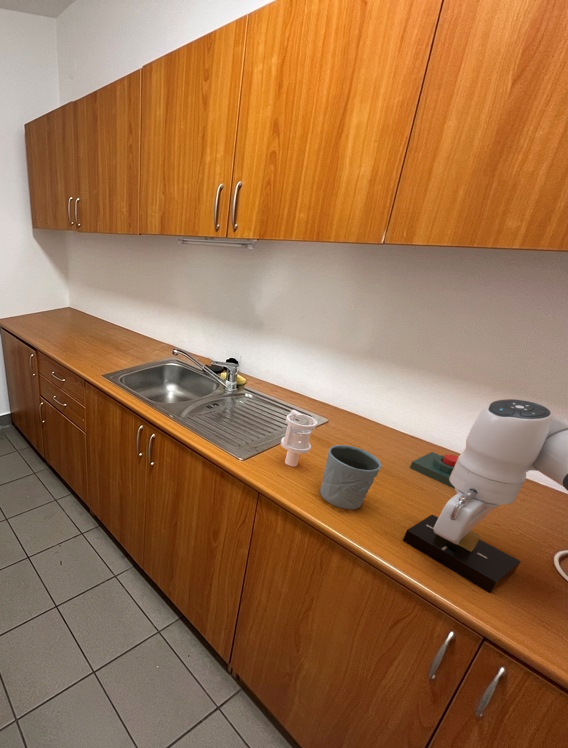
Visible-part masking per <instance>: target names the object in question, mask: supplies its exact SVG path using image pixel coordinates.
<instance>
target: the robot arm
mask: <svg viewBox="0 0 568 748" xmlns="http://www.w3.org/2000/svg"><path fill="white" fill-rule="evenodd" d="M530 471H535V472H539V473H541V474H542V475H544V476H546V477H547V478H549V479H550V480H552V481H553V482H555V483H556V484H558V485H560V486H561V487H563V488H564V489H565V490H566V491H568V419H565V418H562V417H560V416H557V415H555V414H554V413H552V411H551V410H550V409H549V408H547V407H546V406H544V405H542V404H539V403H537V402H533V401H529V400H523V399H514V398H513V399H512V398H510V399H507V398H505V399H500V400H494V401H492V402H490V403H489V404H488V405H486V406H485V407H484V408H483V409H482V410H481V411H480V412H479V414H478V415H477V417H476V419H475V420H474V422H473V424H472V426H471V428H470V430H469V432H468V435H467V436H466V439H465V449H464V450H463V452H462V453H460V454H459V456H458V459H457V462H456V464H455V466H454V469H453V471H452V473H451V475H450V478H449V480H450V482H451V484H452V485H453V486H454V487H455V489H454V491H455V493H456V494H455V495H453V496H452V497H451V498H450V499H449V500H448V501H447V502H446V504H445V505H444V506H443V508H442V510H441V512H440V514H439V516H438V520H437V522H436V524H435V526H434V533H436V534H437V535H439V536H441V537H443V538H445V539H447V540H448V541H450V542H452V543H454V544H459V543H460V542H461V541H462V538H463V537H464V536H465V535H466V534H467V533H469V532H470V531H473V529H474V528H476V527H477V526H478V525H479V524H480V523H481V522H482V521H484V519H486V518H487V517H488V516H489V515H490V514H491V513H493V511H495V510H496V509H497V508H498V507H501V505H502V506H503V505H505V506H506V505H511V504H513V503H514V502H515V500H516V498H517V496H518V494H519V493H520V491H521V489H522V488H523V485H524V483H525V481H526V480H527V473H528V472H530Z"/></svg>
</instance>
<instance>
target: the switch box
mask: <svg viewBox="0 0 568 748" xmlns="http://www.w3.org/2000/svg"><path fill="white" fill-rule="evenodd" d="M444 456H445V455H442V454H438V453H437V452H433V451H430V452H429V453H427V454H425V455H423V456H420V457H418V458H416V459H415V460H412V461H411V464H410V466H409V469H410V470H412V471H415V472H417V473H420V474H421V475H423V476H426V477H428V478H430V479H431V480H434V481H437V482H439V483H441V484H443V485H445V486H447V487H450V488H451V489H454V490H455V487H454V486H453V485H452V484H451V482H450V480H449V478H450V475H451V473H452V471H453V469H454V467H452V466H449V465H447V464H445V463H443V462H442V461H443V458H444Z"/></svg>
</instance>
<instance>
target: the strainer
mask: <svg viewBox="0 0 568 748" xmlns="http://www.w3.org/2000/svg"><path fill="white" fill-rule="evenodd" d="M296 419H303V420H306V421H308V423H307V424H300V423H299V422H297V421H296ZM285 422H286V424H287V427H286V430H285V435H284V436H283V437H282V438H281V440H280V446H281V447H282V448H283V449H285V450H286V451H287V452H286V456H285V460H284V464H285V465H287V466H289V467H293V468H294V467H297V466H298V463H299V459H300V456H301V455H303V454H304V455H305V454H308V453H310V452H311V448H312V445H311V443H310V440H311V439H310V438H311V435H312V432H313V430H315V429H316V428H317V425H318V421H317V419H316V418H314V417H313V416H310V415H307V414H304V413H301V412H300V411H298V410H296V409H291V410H290V413H289V414H287V415H286V417H285Z"/></svg>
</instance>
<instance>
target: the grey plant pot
mask: <svg viewBox="0 0 568 748" xmlns="http://www.w3.org/2000/svg"><path fill="white" fill-rule="evenodd" d="M381 463H382V462H381V461H380V459H379V458H377V457H376V455H373V454H372V453H370V452H369V451H367V450H365V449H362V448H359V447H355V446H353V445H345V444H336V445H332V446H331V447H329V449H328V451H327V457H326V464H325V466H324V472H323V476H322V483H321V484H320V489H319V493H320V495H321V498H323V499H324V500H325V501H326V502H327V503H329V504H331V505H332V506H334V507H337V508H340V509H344V510H357V509H359V508H360V507H361V506H362V505H363V502H364V501H365V499H366V497H367V495H368V493H369V490H370V489H371V487H372V485H373V483H374V481H375V478H376V477H377V476H378V475H379V472H380V470H381V468H382V464H381Z"/></svg>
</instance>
